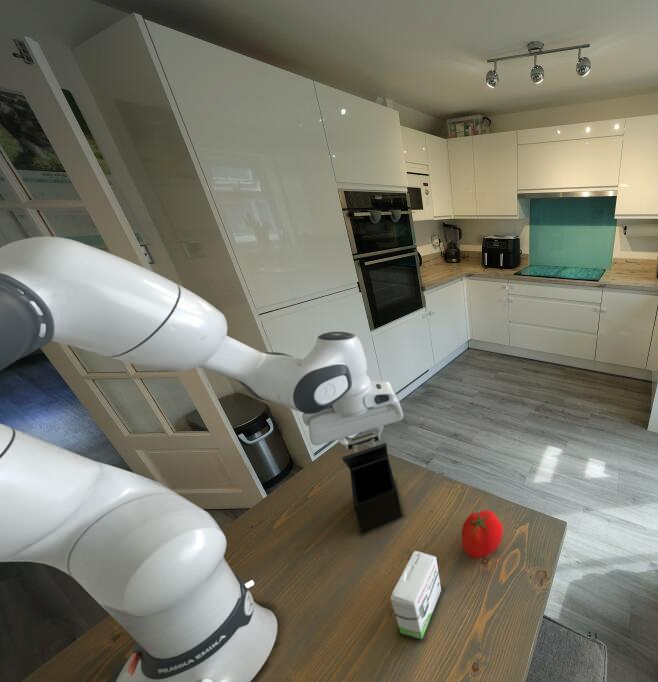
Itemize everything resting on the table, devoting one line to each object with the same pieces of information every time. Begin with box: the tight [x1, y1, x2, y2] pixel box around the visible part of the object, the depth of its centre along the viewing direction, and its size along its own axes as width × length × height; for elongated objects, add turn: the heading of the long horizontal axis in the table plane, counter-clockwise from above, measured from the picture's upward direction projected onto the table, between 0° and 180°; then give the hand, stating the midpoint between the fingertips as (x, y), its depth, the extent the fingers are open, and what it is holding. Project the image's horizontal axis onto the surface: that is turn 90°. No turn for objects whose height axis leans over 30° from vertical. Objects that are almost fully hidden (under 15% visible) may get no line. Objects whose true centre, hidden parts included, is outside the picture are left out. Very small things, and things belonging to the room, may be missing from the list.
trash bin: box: [349, 456, 403, 534], centre depth 81 cm, size 13×10×10 cm
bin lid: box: [341, 431, 389, 470], centre depth 79 cm, size 13×10×5 cm
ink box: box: [390, 550, 442, 640], centre depth 60 cm, size 9×5×12 cm, turn 166°
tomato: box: [461, 509, 504, 559], centre depth 72 cm, size 9×10×8 cm
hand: (364, 443), depth 77 cm, fingers closed on bin lid, 5 cm apart
